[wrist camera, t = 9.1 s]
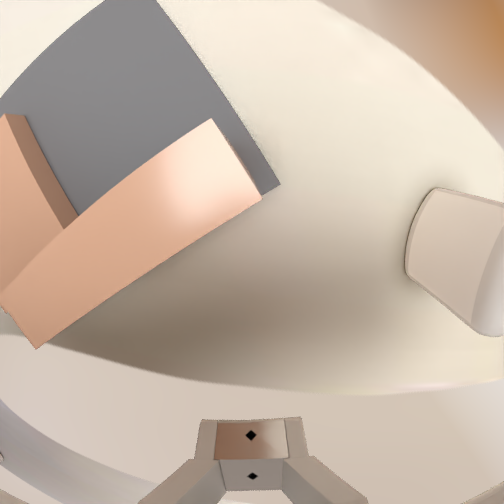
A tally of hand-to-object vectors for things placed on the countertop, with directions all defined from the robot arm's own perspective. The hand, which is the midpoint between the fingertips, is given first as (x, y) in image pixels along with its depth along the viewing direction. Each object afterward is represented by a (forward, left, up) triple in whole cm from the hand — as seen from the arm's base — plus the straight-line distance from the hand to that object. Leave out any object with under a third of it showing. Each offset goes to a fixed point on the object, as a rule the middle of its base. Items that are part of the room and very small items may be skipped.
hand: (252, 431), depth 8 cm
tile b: (0, +7, -9) cm, 11 cm away
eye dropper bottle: (+11, -2, -9) cm, 15 cm away
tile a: (-9, +8, -8) cm, 14 cm away
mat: (-5, +12, -9) cm, 16 cm away
